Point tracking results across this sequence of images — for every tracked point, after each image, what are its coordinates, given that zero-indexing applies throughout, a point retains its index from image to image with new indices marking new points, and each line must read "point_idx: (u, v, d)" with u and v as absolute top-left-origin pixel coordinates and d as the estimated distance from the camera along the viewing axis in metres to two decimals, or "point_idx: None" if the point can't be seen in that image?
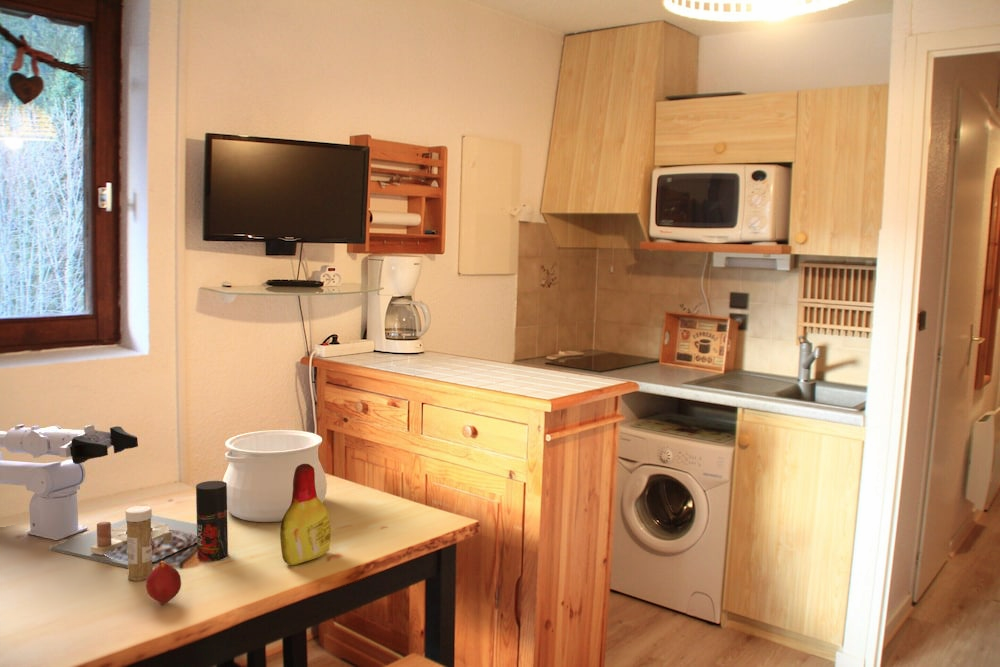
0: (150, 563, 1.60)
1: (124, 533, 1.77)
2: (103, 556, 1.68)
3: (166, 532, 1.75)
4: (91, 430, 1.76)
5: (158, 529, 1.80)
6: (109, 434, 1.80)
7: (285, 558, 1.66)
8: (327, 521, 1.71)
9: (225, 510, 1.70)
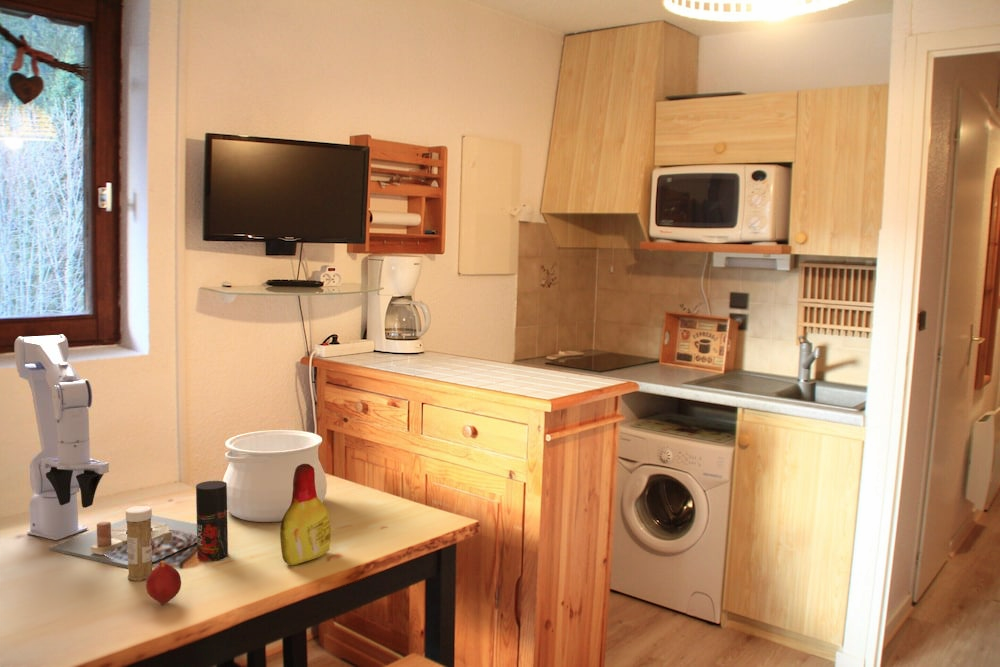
0: (150, 563, 1.60)
1: (124, 533, 1.77)
2: (103, 556, 1.68)
3: (166, 532, 1.75)
4: None
5: (158, 529, 1.80)
6: None
7: (285, 558, 1.66)
8: (327, 521, 1.71)
9: (225, 510, 1.70)
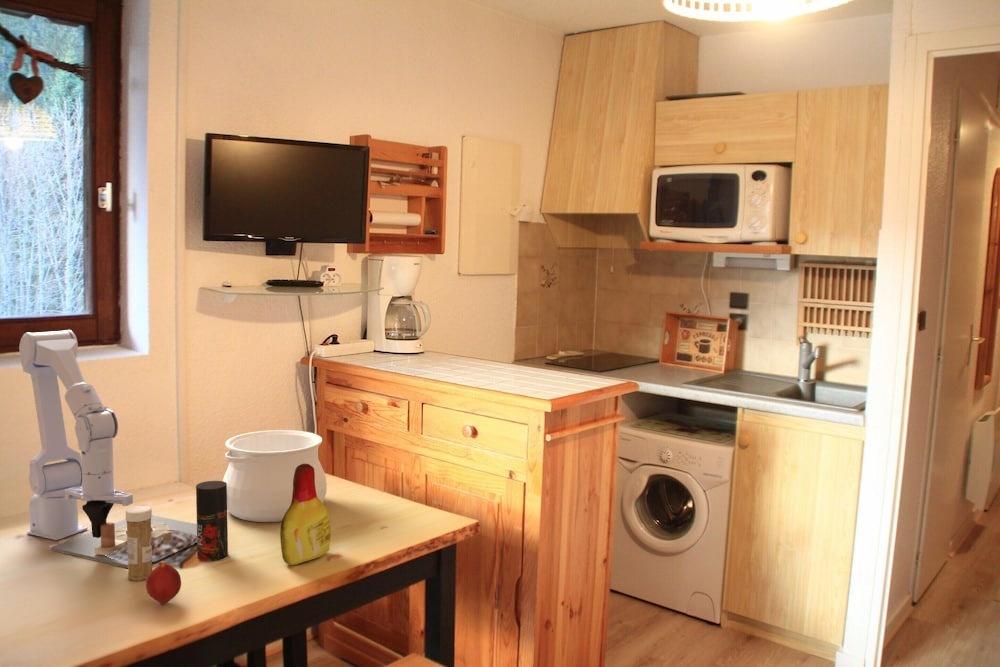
0: (150, 563, 1.60)
1: (124, 533, 1.77)
2: (103, 556, 1.68)
3: (166, 532, 1.75)
4: None
5: (158, 528, 1.80)
6: None
7: (285, 558, 1.66)
8: (327, 521, 1.71)
9: (225, 510, 1.70)
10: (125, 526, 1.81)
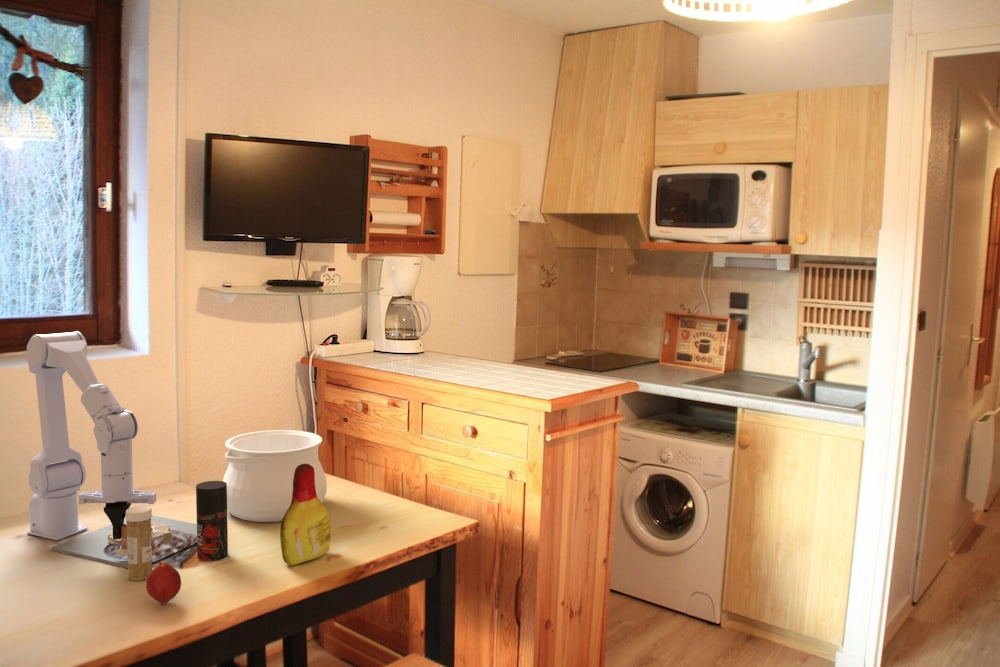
0: (150, 563, 1.60)
1: None
2: (103, 556, 1.68)
3: (166, 532, 1.75)
4: None
5: (156, 526, 1.82)
6: None
7: (285, 558, 1.66)
8: (327, 521, 1.71)
9: (225, 510, 1.70)
10: None
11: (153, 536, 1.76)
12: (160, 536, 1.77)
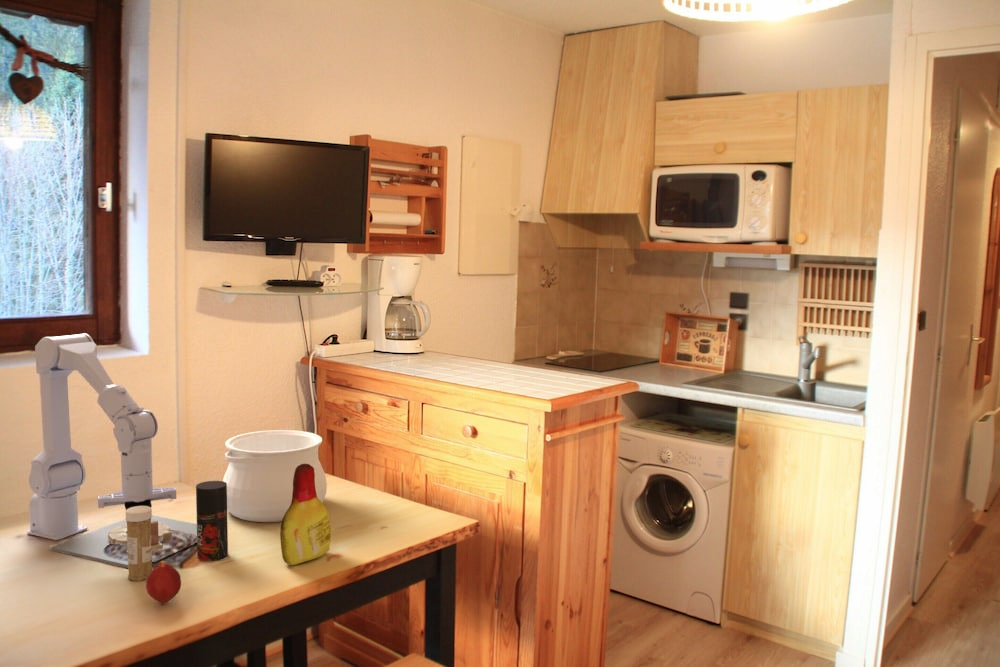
0: (150, 563, 1.60)
1: None
2: (103, 556, 1.68)
3: (166, 532, 1.75)
4: None
5: None
6: None
7: (285, 558, 1.66)
8: (327, 521, 1.71)
9: (225, 510, 1.70)
10: (114, 533, 1.77)
11: (162, 532, 1.78)
12: None
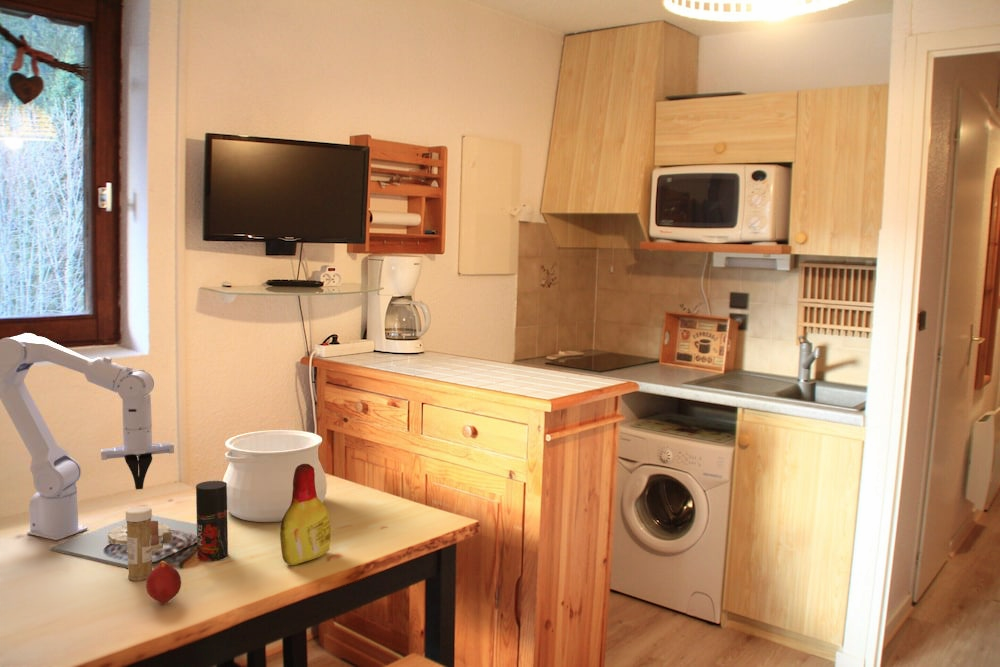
0: (150, 563, 1.60)
1: None
2: (103, 556, 1.68)
3: (166, 532, 1.75)
4: None
5: None
6: None
7: (285, 558, 1.66)
8: (327, 521, 1.71)
9: (225, 510, 1.70)
10: (114, 533, 1.77)
11: (162, 532, 1.78)
12: None
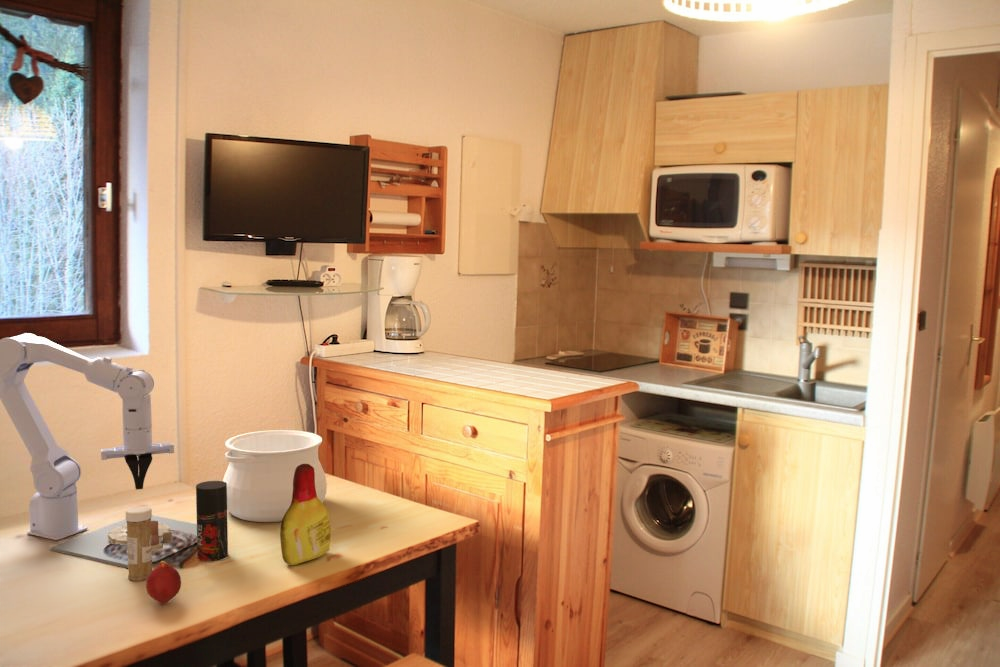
0: (150, 563, 1.60)
1: None
2: (103, 556, 1.68)
3: (166, 532, 1.75)
4: None
5: None
6: None
7: (285, 558, 1.66)
8: (327, 521, 1.71)
9: (225, 510, 1.70)
10: (114, 533, 1.77)
11: (162, 532, 1.78)
12: None
